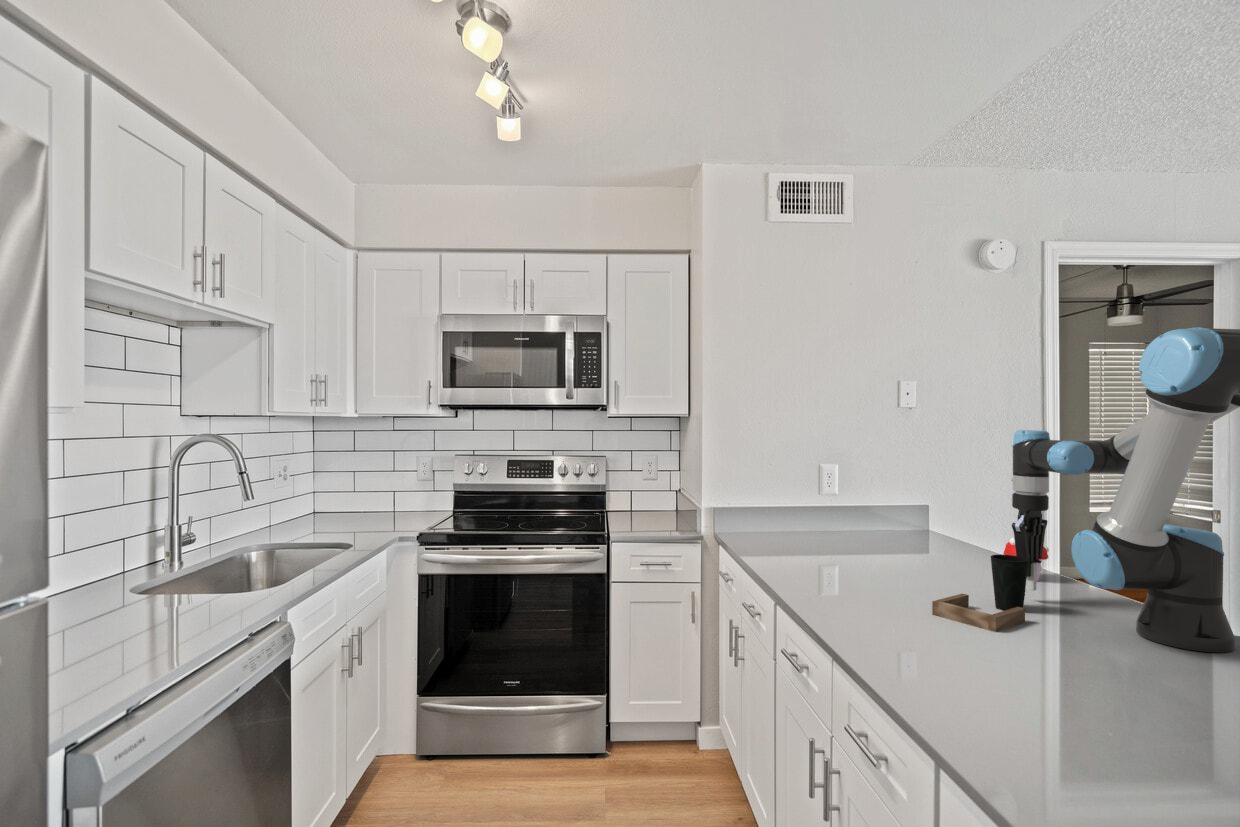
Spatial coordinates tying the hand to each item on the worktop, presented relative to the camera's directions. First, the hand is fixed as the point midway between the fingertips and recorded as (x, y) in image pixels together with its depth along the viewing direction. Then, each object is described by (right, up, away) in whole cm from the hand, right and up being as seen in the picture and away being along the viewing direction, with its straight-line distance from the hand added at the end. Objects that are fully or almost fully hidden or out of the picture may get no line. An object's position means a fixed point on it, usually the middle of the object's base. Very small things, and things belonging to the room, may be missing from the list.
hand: (1028, 588), depth 158 cm
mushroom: (+14, -4, +23) cm, 27 cm away
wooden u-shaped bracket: (-19, -3, -13) cm, 23 cm away
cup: (-8, -3, -6) cm, 11 cm away
